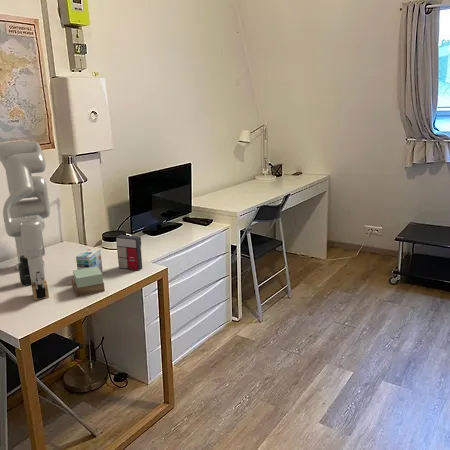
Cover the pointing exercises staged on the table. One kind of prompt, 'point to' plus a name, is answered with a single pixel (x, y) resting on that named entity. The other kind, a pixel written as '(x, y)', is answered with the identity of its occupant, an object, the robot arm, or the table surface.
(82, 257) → the light bulb box
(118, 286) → the table surface
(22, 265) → the supplement bottle
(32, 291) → the oak cube
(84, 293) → the walnut block
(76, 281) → the sage block
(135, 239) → the grey red box
